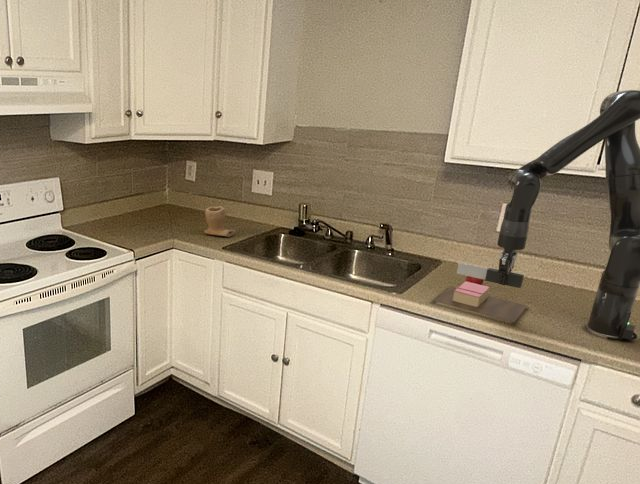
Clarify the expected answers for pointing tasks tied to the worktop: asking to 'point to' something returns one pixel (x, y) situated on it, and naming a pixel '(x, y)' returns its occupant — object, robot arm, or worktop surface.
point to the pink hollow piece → (217, 222)
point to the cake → (476, 289)
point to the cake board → (486, 306)
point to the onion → (474, 280)
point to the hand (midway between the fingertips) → (503, 283)
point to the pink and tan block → (467, 297)
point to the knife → (489, 274)
